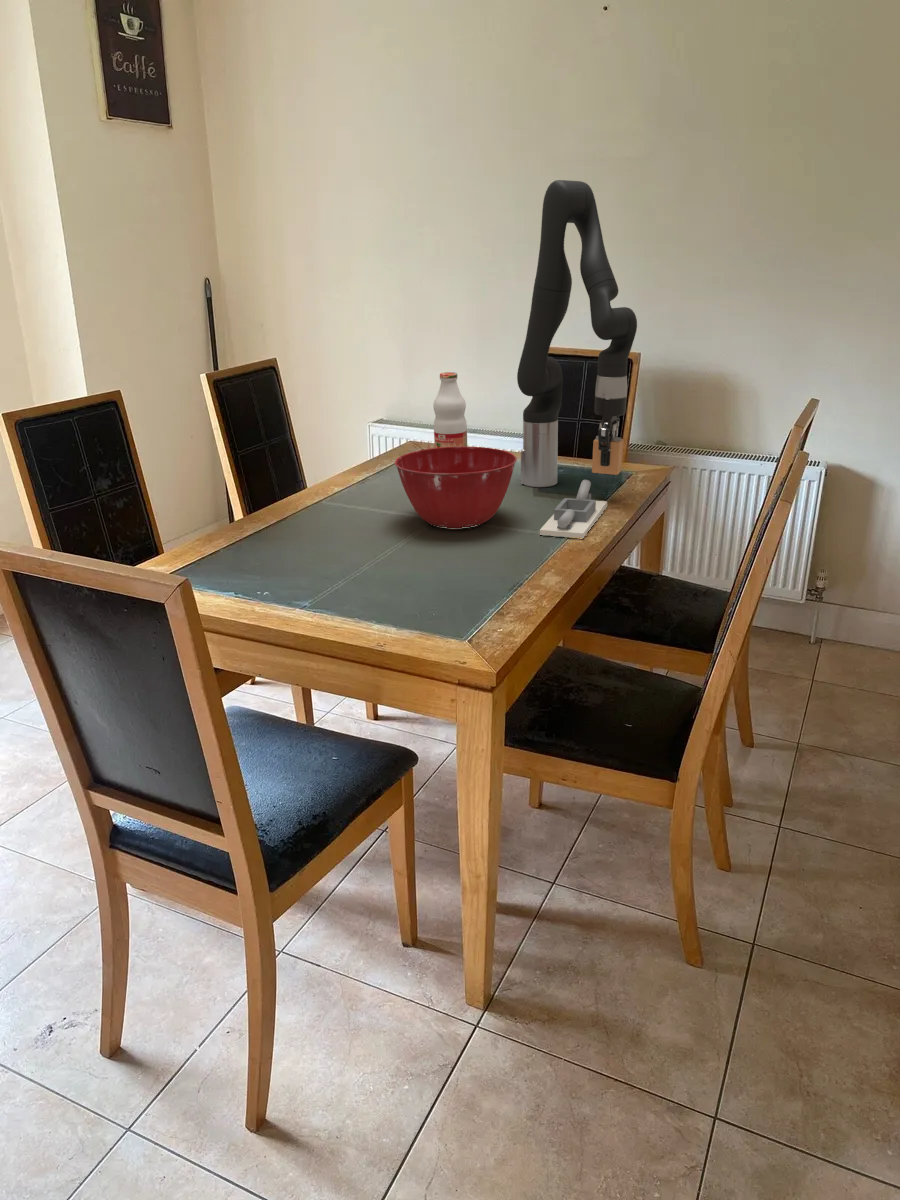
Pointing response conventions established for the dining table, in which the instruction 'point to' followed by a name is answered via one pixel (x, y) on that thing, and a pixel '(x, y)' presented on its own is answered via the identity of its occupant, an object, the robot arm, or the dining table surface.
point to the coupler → (614, 457)
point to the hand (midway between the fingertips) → (606, 463)
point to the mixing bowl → (456, 483)
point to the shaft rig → (575, 514)
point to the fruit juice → (449, 413)
